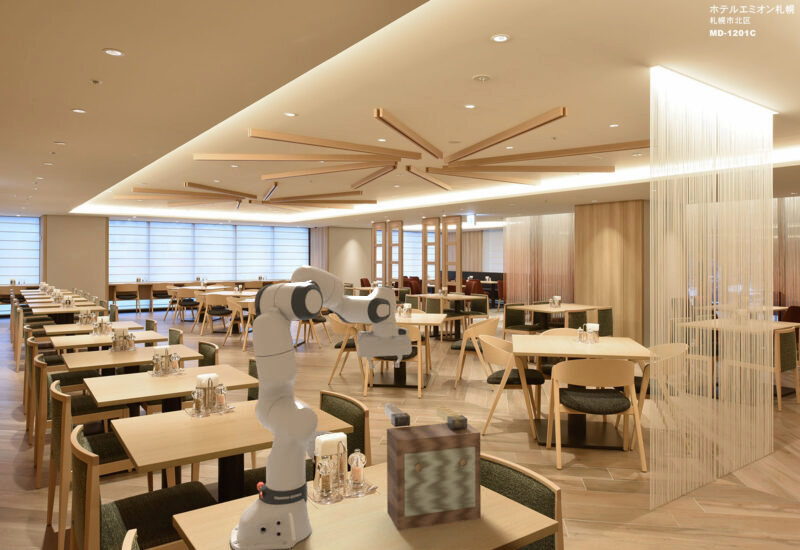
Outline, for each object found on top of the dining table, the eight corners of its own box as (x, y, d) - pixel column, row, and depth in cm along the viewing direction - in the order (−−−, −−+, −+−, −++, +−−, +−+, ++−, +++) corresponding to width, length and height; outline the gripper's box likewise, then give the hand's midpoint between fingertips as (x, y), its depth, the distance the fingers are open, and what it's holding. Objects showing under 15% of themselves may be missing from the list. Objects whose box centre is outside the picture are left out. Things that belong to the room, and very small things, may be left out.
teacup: (300, 454, 216) (300, 430, 216) (337, 455, 215) (336, 430, 215) (293, 466, 204) (292, 440, 204) (331, 466, 203) (331, 440, 203)
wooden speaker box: (399, 533, 151) (398, 442, 151) (387, 512, 165) (386, 428, 164) (483, 520, 159) (482, 434, 158) (465, 501, 172) (464, 421, 171)
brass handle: (452, 429, 162) (452, 420, 162) (433, 415, 178) (433, 406, 178) (467, 428, 163) (467, 418, 163) (447, 413, 179) (447, 405, 179)
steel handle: (394, 427, 165) (394, 417, 165) (381, 412, 181) (381, 404, 181) (410, 425, 166) (410, 416, 166) (395, 411, 183) (395, 402, 183)
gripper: (358, 332, 189) (358, 371, 189) (413, 330, 194) (413, 367, 195) (354, 330, 195) (355, 368, 195) (408, 328, 200) (408, 364, 201)
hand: (384, 367), depth 195 cm, fingers open, 8 cm apart
